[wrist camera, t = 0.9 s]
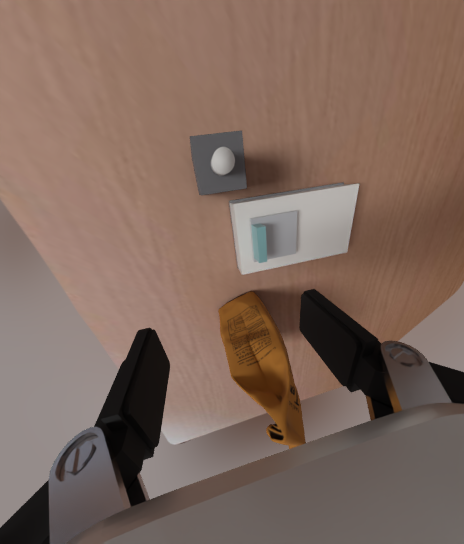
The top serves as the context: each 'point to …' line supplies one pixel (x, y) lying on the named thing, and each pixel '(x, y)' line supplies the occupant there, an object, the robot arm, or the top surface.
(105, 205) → the top surface
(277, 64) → the top surface
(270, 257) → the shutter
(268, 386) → the coffee package
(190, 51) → the top surface
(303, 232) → the socket
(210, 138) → the plug
